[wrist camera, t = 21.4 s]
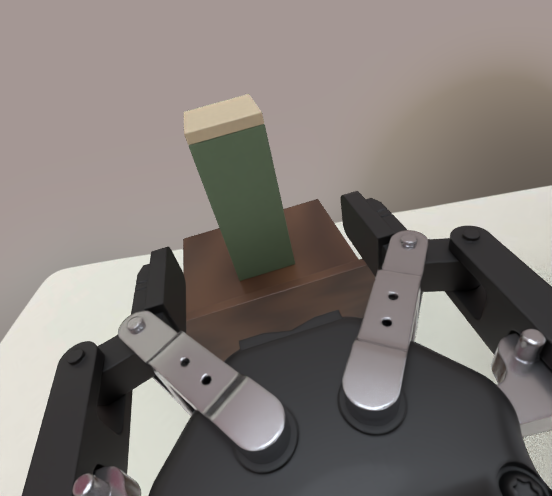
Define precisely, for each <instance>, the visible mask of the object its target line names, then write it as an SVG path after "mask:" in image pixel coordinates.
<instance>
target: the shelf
mask: <svg viewBox="0 0 552 496" xmlns="http://www.w3.org/2000/svg"><path fill="white" fill-rule="evenodd" d="M283 210H284V215H285V219H286V224H287V228H288V233H289V238H290V242H291V247H292V251H293V256H294V260H295V264H294V265H290V266H287V267H284V268H281V269H277V270H274V271H271V272H268V273H264V274H261V275H258V276H255V277H251V278H248V279H245V280H242V281H239V278H238V276H237V273H236V270H235V268H234V265H233V262H232V260H231V257H230V254H229V252H228V249H227V246H226V244H225V241H224V238H223V236H222V233H221V231H220V228H218V229H215V230H212V231H208V232H205V233H202V234H198V235H195V236H191V237H188V238H185V239H183V265H184V277H185V281H186V334H187V335H189V336H190V337H191V338H193V339H194V340H195V341H197V342H198V343H199V344H201V345H202V346H203V347H205V348H206V349H207V350H209V351H210V352H211V353H213V354H214V355H215V356H217V357H218V358H219V359H221V360H222V361H223V362H224V361H225V360H226V359H227V358H228V357H229V356H230V355H232V354H233V353H234V352H236V351H237V350H239V349H240V347H239V341H240V340H243V339H246V338H249V337H253V336H256V335H259V334H262V333H270V332H281V331H290V330H293V329H294V328H296V327H298V326H300V325H301V324H303V323H305V322H307V321H308V320H310V319H312V318H314V317H316V316H319V315H323V314H326V313H329V312H332V311H335V310H339V312H340V314H341V316H342V317H346V316H347V317H359V318H363V316H364V313H365V310H366V307H367V303H368V300H369V297H370V294H371V290H372V287H373V284H374V281H375V276H374V274H373V273H372V272H371V270H370V269H369V267H368V266H367V264H366V263H365V261H364V260H363V259H360V260H359V259H358V258H357V256H356V255H355V253H354V252H353V250H352V249H351V247H350V246H349V244H348V243H347V242H346V240H345V239H344V237H343V236H342V234H341V233H340V231H339V230H338V228H337V227H336V225H335V224H334V222H333V221H332V219H331V218H330V216H329V215H328V213H327V212H326V210H325V209H324V207H323V206H322V204H321V203H320V201H319V200H318V199H316V200H313V201H309V202H306V203H303V204H300V205H296V206H293V207H289V208H286V209H283Z"/></svg>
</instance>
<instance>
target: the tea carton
mask: <svg viewBox="0 0 552 496" xmlns="http://www.w3.org/2000/svg"><path fill="white" fill-rule="evenodd" d="M184 135H185V138H186V140H187V143H188V145H189V148H190V151H191V153H192V156H193V159H194V162H195V164H196V167H197V170H198V172H199V175H200V177H201V180H202V183H203V185H204V188H205V191H206V193H207V196H208V199H209V201H210V204H211V207H212V209H213V212H214V214H215V217H216V220H217V222H218V225H219V228H220V231H221V233H222V236H223V238H224V241H225V244H226V246H227V249H228V252H229V254H230V257H231V260H232V262H233V265H234V268H235V270H236V273H237V276H238V278H239V281H242V280H245V279H248V278H251V277H255V276H258V275H261V274H264V273H268V272H271V271H274V270H277V269H281V268H284V267H287V266H290V265H294V264H295V260H294V256H293V251H292V247H291V242H290V238H289V233H288V228H287V224H286V219H285V215H284V210H283V206H282V201H281V197H280V192H279V188H278V183H277V179H276V174H275V169H274V165H273V160H272V156H271V152H270V147H269V142H268V138H267V133H266V129H265V125H264V120H263V116H262V112H261V111H260V109H259V108H258V106H257V105H256V103H255V102H254V101H253V99H252V98H251V96H250V95H249V94H247V95H244V96H240V97H236V98H233V99H229V100H225V101H222V102H218V103H215V104H211V105H207V106H204V107H200V108H197V109H193V110H189V111H186V112H184Z"/></svg>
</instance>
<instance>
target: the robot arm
mask: <svg viewBox="0 0 552 496" xmlns="http://www.w3.org/2000/svg"><path fill="white" fill-rule="evenodd" d="M341 209H342V220H343V227H344V230H345V233H346V235H347V236H348V238H349V239H350V241H351V242H352V244H353V245H354V247H355V248H356V250H357V251H358V253H359V254H360V255H361V257H362V258H363V260H364V261H365V263H366V264H367V266H368V267H369V269H370V270H371V272H372V273H373V274H374V276H375V281H374V284H373V287H372V290H371V294H370V297H369V300H368V303H367V307H366V310H365V313H364V316H363V318H359V317H347V316H346V317H342V316H341V314H340V312H339V310H335V311H332V312H329V313H326V314H323V315H319V316H316V317H314V318H312V319H310V320H308V321H307V322H305V323H303V324H301V325H300V326H298V327H296V328H294V329H293V330H290V331H281V332H270V333H262V334H259V335H256V336H253V337H249V338H246V339H243V340H240V341H239V347H240V349H239V350H237V351H236V352H234V353H233V354H232V355H230V356H229V357H228V358H227V359H226V360H225V361H224V362H223V361H222V360H221V359H219V358H218V357H217V356H215V355H214V354H213V353H211V352H210V351H209V350H207V349H206V348H205V347H203V346H202V345H201V344H199V343H198V342H197V341H195V340H194V339H193V338H191V337H190V336H189V335H187V334H186V281H185V277H184V274H183V272H182V270H181V268H180V266H179V264H178V262H177V260H176V258H175V256H174V254H173V252H172V250H171V249H170V248H169V247H165V248H162V249H158V250H155V251H152V252H151V258H150V264H147V265H144V266H143V267H142V268H141V270H140V272H139V273H138V275H137V281H136V284H137V285H136V287H135V293H134V299H133V305H132V311H131V315H130V316H129V317H127V318H126V319H125V320H124V321H123V322H122V324H121V325H120V327H119V330H118V335H116V336H115V337H113V338H112V339H110V340H108V341H106V342H105V343H103V344H101V345H99V346H98V347H97V346H96V344H95V343H93V342H90V341H86V342H81V343H79V344H77V345H75V346H73V347H72V348H70V349H69V350H68V351H67V352H66V353H65V354H64V355H63V356H62V358H61V359H60V361H59V363H58V366H57V370H56V373H55V377H54V380H53V384H52V388H51V391H50V395H49V399H48V402H47V406H46V410H45V413H44V417H43V420H42V424H41V428H40V431H39V435H38V439H37V442H36V446H35V450H34V453H33V457H32V460H31V464H30V468H29V471H28V475H27V479H26V482H25V486H24V489H23V493H22V496H141V489H140V486H139V484H138V483H137V482H136V481H135V480H134V479H132V478H131V477H130V476H128V475H127V468H128V452H129V437H130V421H131V405H132V390H133V389H134V388H136V387H137V386H139V385H141V384H142V383H144V382H145V381H147V380H149V379H150V378H153V379H154V380H155V381H156V382H157V383H158V384H160V385H161V386H162V387H163V388H164V389H165V390H166V391H167V392H168V393H169V394H170V395H171V396H172V397H173V398H174V399H175V400H176V401H177V402H178V403H179V404H180V405H181V406H182V407H183V409H184V410H185V411H186V412H187V413H188V414H189V415H190V416H191V417H190V419H189V421H188V423H187V424H186V426H185V428H184V430H183V431H182V433H181V435H180V437H179V439H178V440H177V442H176V444H175V446H174V447H173V449H172V451H171V453H170V454H169V456H168V458H167V460H166V461H165V463H164V465H163V467H162V468H161V470H160V472H159V474H158V476H157V477H156V479H155V481H154V483H153V485H152V488H151V490H150V493H149V496H552V490H551V489H550V488H549V487H548V486H547V484H546V483H545V482H544V481H543V479H542V478H541V477H540V475H539V474H538V472H537V470H536V469H535V467H534V465H533V463H532V461H531V459H530V457H529V454H528V452H527V449H526V447H525V444H524V440H523V437H527V436H531V435H534V434H538V433H542V432H546V431H550V430H552V287H551V286H550V285H549V284H548V283H547V282H546V281H544V280H543V279H542V278H541V277H540V276H539V275H538V274H536V273H535V272H534V271H533V270H532V269H531V268H529V267H528V266H527V265H526V264H525V263H524V262H522V261H521V260H520V259H519V258H518V257H517V256H516V255H514V254H513V253H512V252H511V251H510V250H509V249H507V248H506V247H505V246H504V245H503V244H502V243H501V242H499V241H498V240H497V239H496V238H495V237H494V236H492V235H491V234H490V233H489V232H488V231H486V230H485V229H482V228H480V227H476V226H461V227H458V228H455V229H454V230H453V231H452V232H451V234H450V238H446V239H427V237H426V236H425V235H423V234H422V233H419V232H417V231H411V230H407V229H406V228H405V227H404V226H403V225H402V224H401V223H400V222H399V221H398V219H397V218H396V217H395V216H394V215H392V213H391V212H390V211H389V210H387V208H386V207H385V206H384V205H383V204H382V203H381V202H379V201H377V200H375V199H373V198H369V199H365V198H364V197H363V196H362V195H361V194H360V193H359V192H358V191H355V192H351V193H348V194H345V195H342V196H341ZM433 291H445V292H446V294H447V295H448V296H449V298H450V299H451V300H452V301H453V303H454V304H455V305H456V307H457V308H458V309H459V310H460V312H461V313H462V314H463V315H464V317H465V318H466V319H467V321H468V322H469V323H470V324H471V326H472V327H473V328H474V330H475V331H476V332H477V333H478V335H479V336H480V337H481V338H482V340H483V341H484V342H485V344H486V345H487V346H488V347H489V349H490V350H491V351H492V353H493V354H494V358H493V361H492V364H491V368H492V372H493V374H494V376H495V378H496V380H497V382H498V385H496V384H495V383H493V382H492V381H491V380H490V379H488V378H487V377H485V376H484V375H482V374H480V373H478V372H476V371H474V370H472V369H470V368H468V367H466V366H464V365H462V364H460V363H458V362H456V361H453V360H451V359H449V358H447V357H445V356H443V355H441V354H439V353H437V352H435V351H433V350H431V349H428V348H426V347H424V346H422V345H420V344H418V343H416V342H415V338H416V331H417V324H418V318H419V312H420V306H421V300H422V294H423V292H433Z"/></svg>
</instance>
